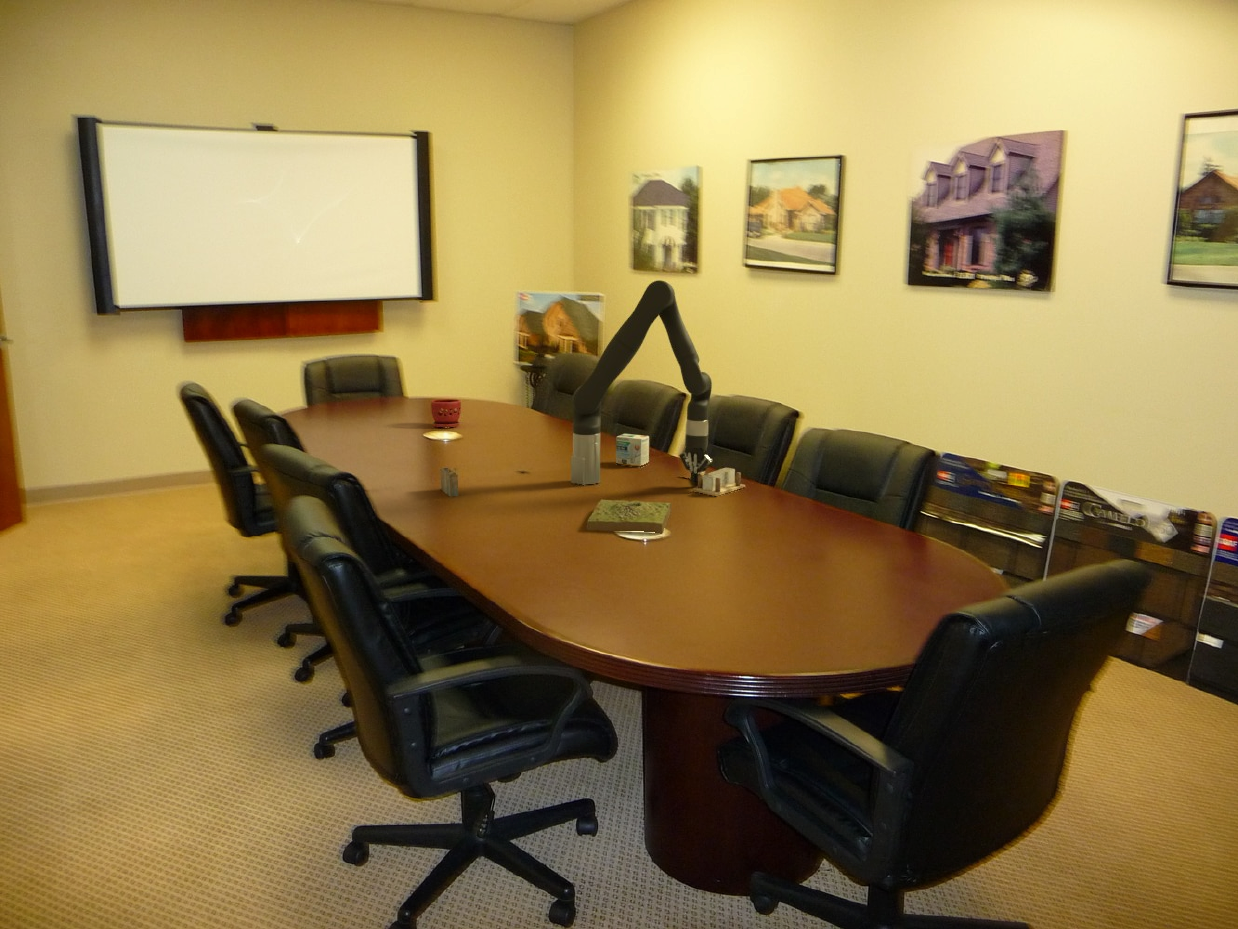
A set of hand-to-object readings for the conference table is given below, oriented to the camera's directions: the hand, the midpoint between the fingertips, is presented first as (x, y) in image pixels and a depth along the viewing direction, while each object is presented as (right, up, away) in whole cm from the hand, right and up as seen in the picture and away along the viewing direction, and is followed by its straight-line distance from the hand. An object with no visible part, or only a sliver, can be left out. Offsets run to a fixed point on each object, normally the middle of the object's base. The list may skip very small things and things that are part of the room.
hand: (694, 483), depth 327 cm
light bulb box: (-21, +6, +34) cm, 40 cm away
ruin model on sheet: (-81, -4, -10) cm, 81 cm away
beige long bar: (+2, +1, +8) cm, 8 cm away
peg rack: (+8, -2, -4) cm, 9 cm away
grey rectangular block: (+8, -1, -4) cm, 9 cm away
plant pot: (-102, +23, +107) cm, 150 cm away
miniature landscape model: (-22, -11, -41) cm, 48 cm away
